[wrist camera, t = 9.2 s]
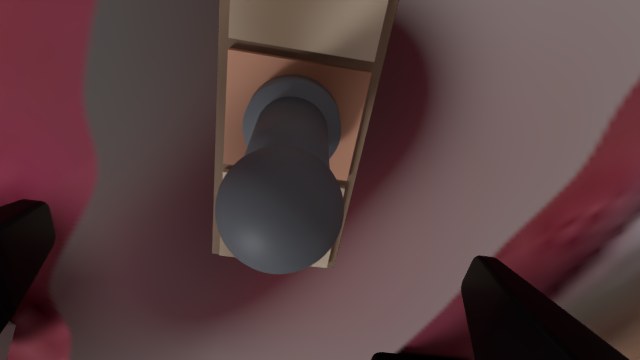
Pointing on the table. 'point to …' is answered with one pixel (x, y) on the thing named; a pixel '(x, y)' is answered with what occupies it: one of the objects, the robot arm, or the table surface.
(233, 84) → the track
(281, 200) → the pawn
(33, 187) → the table surface
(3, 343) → the die
